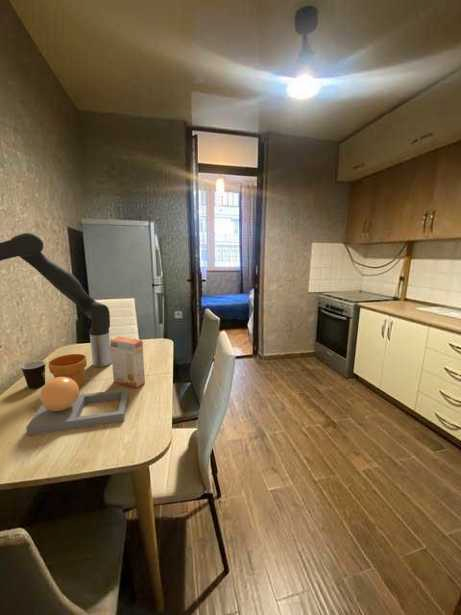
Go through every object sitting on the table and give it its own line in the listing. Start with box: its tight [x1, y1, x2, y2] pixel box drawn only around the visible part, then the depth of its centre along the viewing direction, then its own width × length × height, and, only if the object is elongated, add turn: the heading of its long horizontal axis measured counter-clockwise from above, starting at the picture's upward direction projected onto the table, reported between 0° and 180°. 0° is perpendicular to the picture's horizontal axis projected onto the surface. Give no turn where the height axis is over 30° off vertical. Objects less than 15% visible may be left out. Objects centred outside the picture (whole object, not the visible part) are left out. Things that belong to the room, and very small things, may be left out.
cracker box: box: [110, 336, 146, 389], centre depth 123 cm, size 14×6×21 cm, turn 65°
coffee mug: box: [21, 360, 46, 390], centre depth 123 cm, size 12×9×10 cm
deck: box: [25, 388, 129, 436], centre depth 102 cm, size 30×18×3 cm, turn 106°
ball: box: [39, 377, 80, 411], centre depth 98 cm, size 12×12×12 cm
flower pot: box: [48, 353, 88, 389], centre depth 120 cm, size 14×14×13 cm
